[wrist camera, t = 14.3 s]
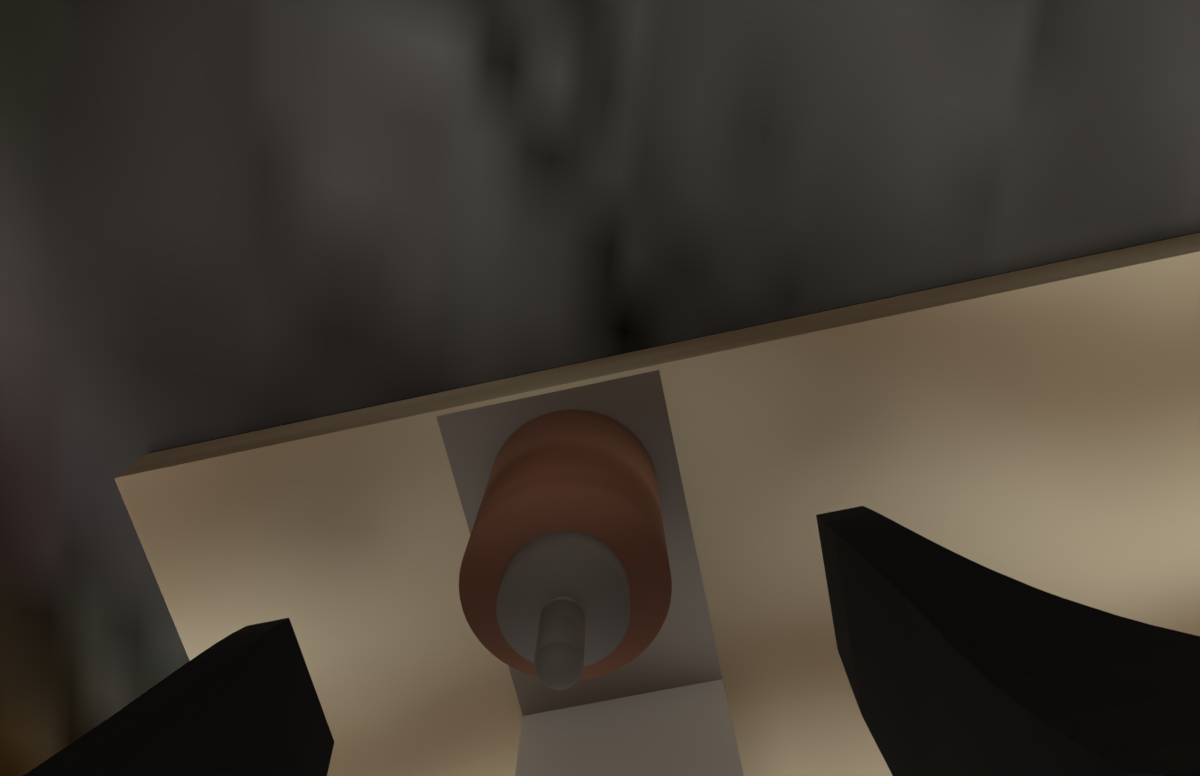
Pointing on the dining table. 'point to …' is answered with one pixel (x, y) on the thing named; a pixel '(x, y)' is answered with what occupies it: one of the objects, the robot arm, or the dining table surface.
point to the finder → (634, 736)
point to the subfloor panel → (717, 505)
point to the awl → (568, 551)
